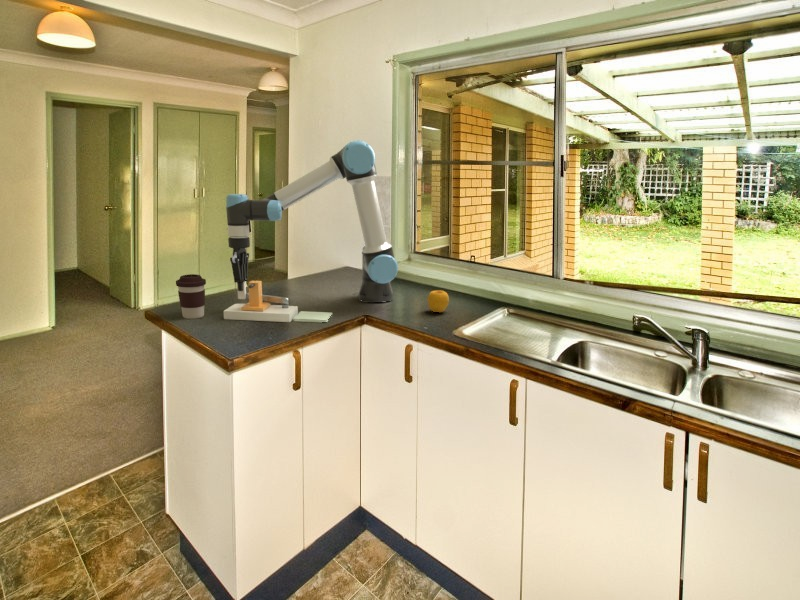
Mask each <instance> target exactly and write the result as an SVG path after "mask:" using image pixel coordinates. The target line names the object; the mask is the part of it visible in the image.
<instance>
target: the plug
mask: <svg viewBox="0 0 800 600" xmlns="http://www.w3.org/2000/svg"><path fill="white" fill-rule="evenodd" d="M247 284H248V293H249V299H248V302H247V303H244V304H245V305H244V306H242V307H241V310H253V311H264V310H265V309H266V308H268V307H269V306H270V305H271V302H265V301H264V302H263V301H262V295H263V285H262V284H263V281H262V280H250V281H248V283H247Z"/></svg>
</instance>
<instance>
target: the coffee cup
mask: <svg viewBox="0 0 800 600" xmlns="http://www.w3.org/2000/svg"><path fill="white" fill-rule="evenodd" d="M206 284H207V280H206V279H205V278H203V277H202V276H201V274H192V273H191V274H183V275H181V276H179V279H176V281H175V286H177V288H178V291H177V293H178V300H179V305H180V307H181V314H182V317H183V318H184V319H188V320H193V319H194V320H195V319H199V318H203V317H204V316H205V304H206V289H205V285H206Z"/></svg>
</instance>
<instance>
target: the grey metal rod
mask: <svg viewBox="0 0 800 600" xmlns="http://www.w3.org/2000/svg"><path fill="white" fill-rule="evenodd" d="M246 299H247V300H249V292H247V291H246ZM246 299H245V300H246ZM263 301H264V302H267V303H277V304H281V305H282V304H289V303H290V299H289V297H287V296H285V297H283V296H277V295H268V294H267V295H266V294H262V302H263Z"/></svg>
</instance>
